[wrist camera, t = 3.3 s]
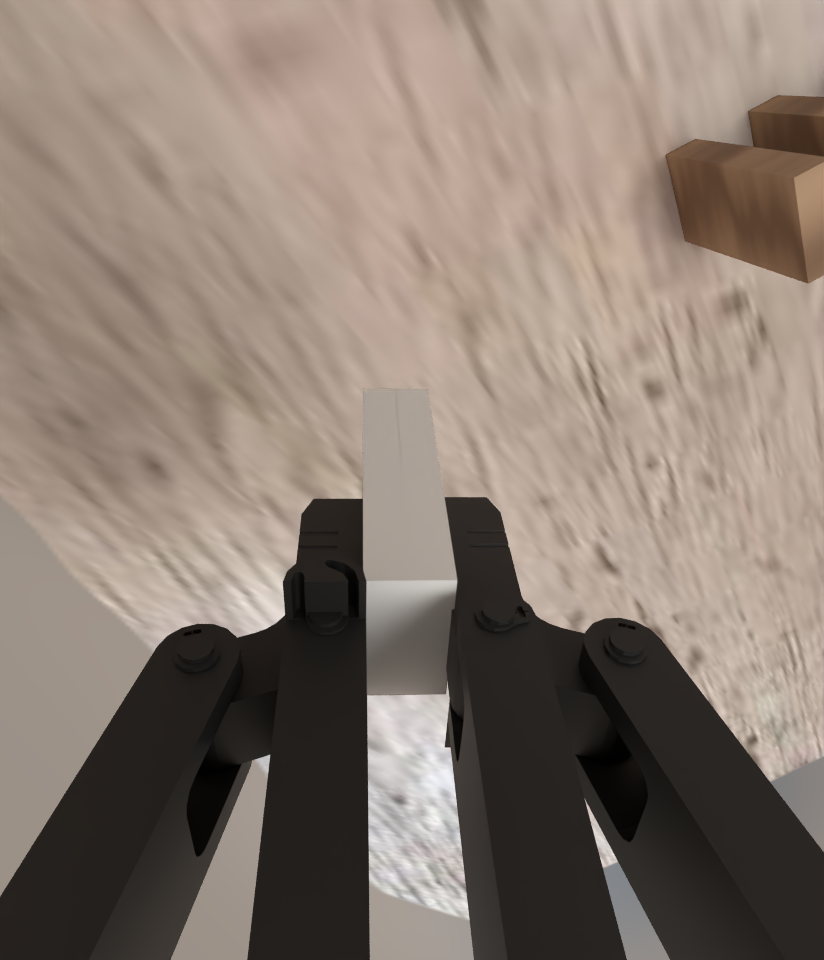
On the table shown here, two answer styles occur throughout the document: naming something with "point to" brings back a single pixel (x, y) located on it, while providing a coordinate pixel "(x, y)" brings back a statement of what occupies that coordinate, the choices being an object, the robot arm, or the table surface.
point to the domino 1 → (752, 204)
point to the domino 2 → (789, 124)
